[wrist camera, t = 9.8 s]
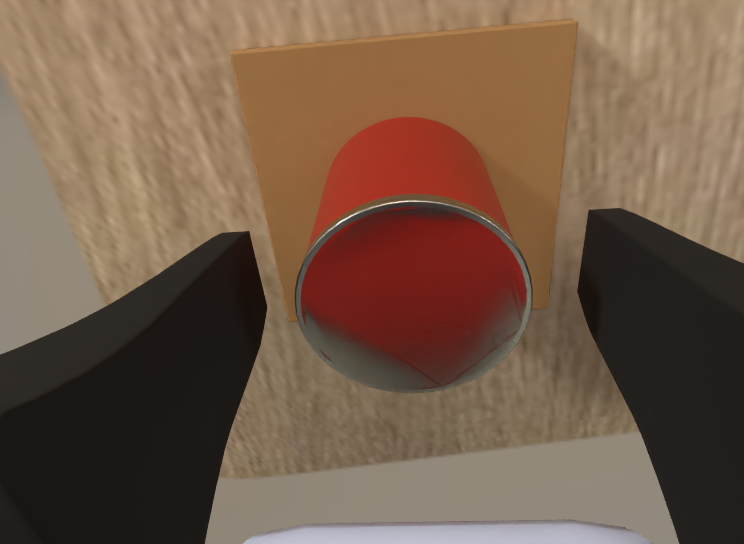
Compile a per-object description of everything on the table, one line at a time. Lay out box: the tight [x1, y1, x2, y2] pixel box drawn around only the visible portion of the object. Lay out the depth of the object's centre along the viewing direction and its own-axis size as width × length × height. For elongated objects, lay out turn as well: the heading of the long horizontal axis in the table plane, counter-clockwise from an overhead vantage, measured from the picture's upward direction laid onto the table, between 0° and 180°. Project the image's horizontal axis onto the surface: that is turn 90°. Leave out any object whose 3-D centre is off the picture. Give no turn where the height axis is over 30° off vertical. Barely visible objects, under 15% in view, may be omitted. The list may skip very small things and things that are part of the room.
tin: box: [295, 117, 533, 393], centre depth 12 cm, size 4×4×5 cm
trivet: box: [230, 19, 578, 322], centre depth 14 cm, size 8×8×1 cm
